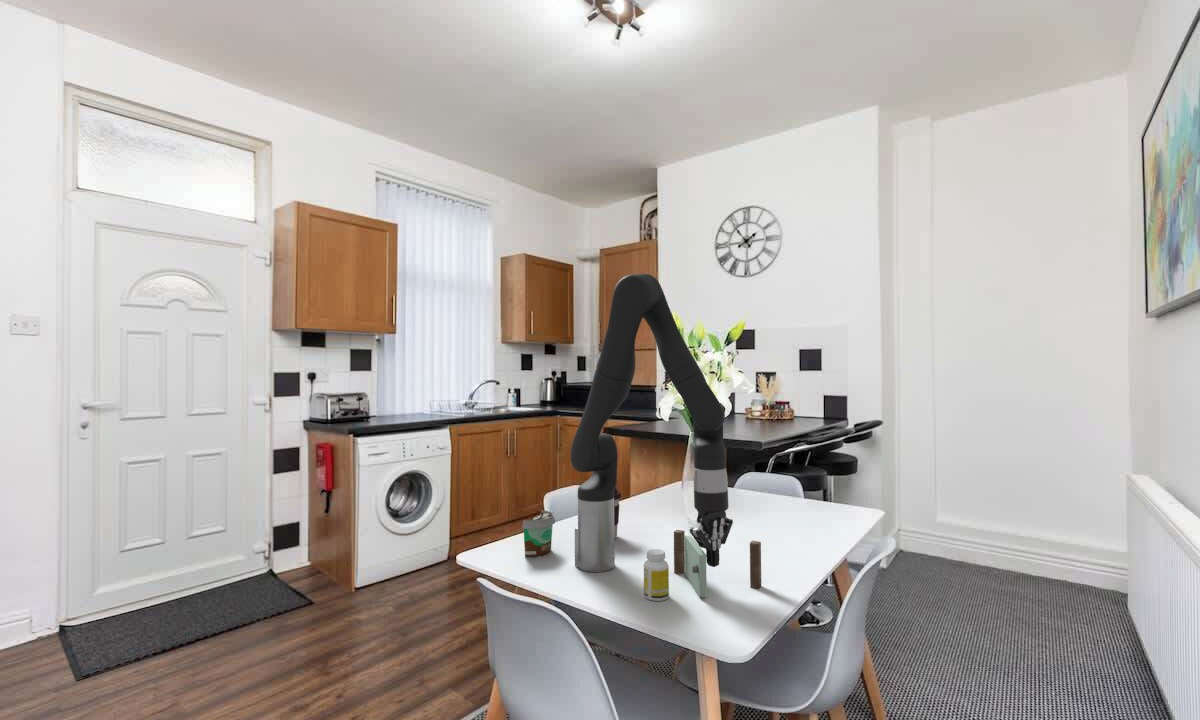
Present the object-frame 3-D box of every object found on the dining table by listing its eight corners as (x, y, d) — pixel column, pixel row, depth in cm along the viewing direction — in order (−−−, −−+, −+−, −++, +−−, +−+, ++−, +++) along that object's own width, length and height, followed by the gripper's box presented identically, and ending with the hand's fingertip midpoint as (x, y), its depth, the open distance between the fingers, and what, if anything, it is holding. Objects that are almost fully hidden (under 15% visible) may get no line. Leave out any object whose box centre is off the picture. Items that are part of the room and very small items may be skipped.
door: (680, 573, 133) (680, 535, 133) (691, 573, 133) (690, 535, 133) (694, 597, 119) (694, 555, 119) (706, 596, 119) (706, 554, 119)
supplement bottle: (673, 596, 121) (673, 551, 121) (659, 604, 116) (658, 557, 117) (653, 589, 124) (653, 546, 124) (638, 597, 120) (638, 552, 120)
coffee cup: (602, 530, 170) (601, 481, 171) (628, 536, 164) (627, 486, 164) (581, 538, 163) (580, 487, 163) (607, 544, 157) (606, 491, 157)
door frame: (674, 573, 134) (673, 531, 135) (677, 570, 136) (676, 529, 136) (759, 588, 124) (758, 544, 124) (761, 585, 126) (760, 541, 126)
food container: (543, 561, 143) (543, 522, 144) (522, 559, 145) (522, 520, 146) (562, 547, 155) (562, 511, 155) (542, 544, 157) (542, 509, 157)
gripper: (705, 495, 116) (708, 578, 116) (742, 485, 125) (744, 562, 125) (678, 490, 122) (680, 568, 122) (715, 480, 131) (717, 554, 131)
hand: (713, 565), depth 123 cm, fingers closed
